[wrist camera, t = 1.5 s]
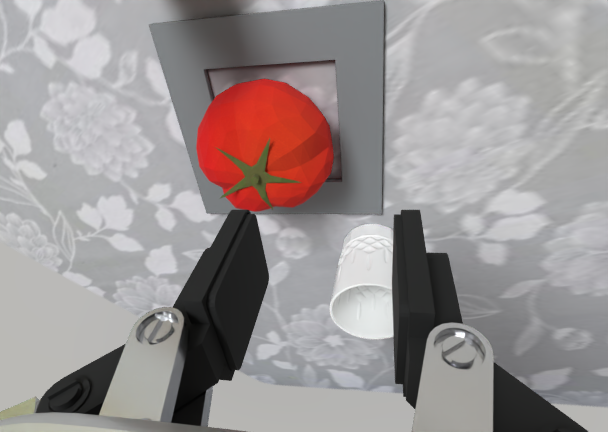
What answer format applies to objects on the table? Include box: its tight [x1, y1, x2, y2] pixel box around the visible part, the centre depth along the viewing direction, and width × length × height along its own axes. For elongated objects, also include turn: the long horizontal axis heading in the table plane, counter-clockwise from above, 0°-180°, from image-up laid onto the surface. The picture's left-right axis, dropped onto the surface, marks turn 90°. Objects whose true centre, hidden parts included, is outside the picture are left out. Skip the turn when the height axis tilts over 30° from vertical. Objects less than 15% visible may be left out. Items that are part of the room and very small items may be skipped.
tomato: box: [196, 79, 334, 212], centre depth 33 cm, size 12×12×10 cm
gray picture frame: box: [149, 0, 384, 214], centre depth 37 cm, size 20×20×1 cm
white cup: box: [330, 224, 394, 340], centre depth 40 cm, size 8×8×10 cm
